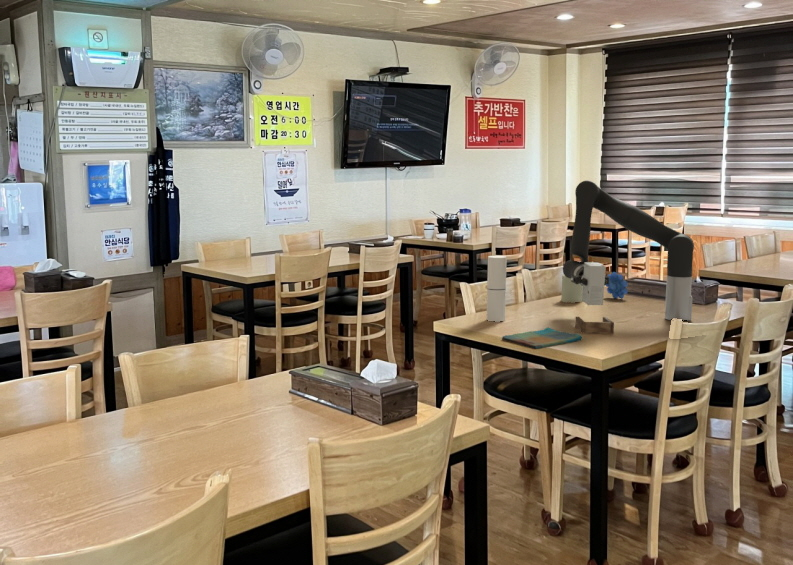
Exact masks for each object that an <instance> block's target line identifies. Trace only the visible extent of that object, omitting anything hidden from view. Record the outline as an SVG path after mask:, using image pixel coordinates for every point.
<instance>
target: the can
mask: <svg viewBox="0 0 793 565" xmlns="http://www.w3.org/2000/svg"><path fill="white" fill-rule="evenodd" d="M582 289H583V286H582V285H580V284H575V283H573V282H571V279H570V278H567V277H566V276H565V275H564V274H561V298H560V302H562V301H563V303H567V302H571V303H570V304H576V303H575V302H580V303H582Z"/></svg>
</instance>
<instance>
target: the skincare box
mask: <svg viewBox="0 0 793 565" xmlns="http://www.w3.org/2000/svg"><path fill="white" fill-rule="evenodd" d="M606 267H607V266H606V265H604V264H603V263H600V262H584V276H583V277H584V278H585V279H587V286H585V285H583V286H582V302H583V303H585V304H586V305H587V306H604V296H605V294H604V293H605V286H604V283H605V275H606ZM582 302H581V303H582Z"/></svg>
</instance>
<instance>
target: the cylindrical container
mask: <svg viewBox="0 0 793 565" xmlns="http://www.w3.org/2000/svg"><path fill="white" fill-rule="evenodd" d="M507 259H508V258H507V256H506V255H488V256H487V278H486V279H487V282H486V284H487V285H486V286H487V287H486V290H487V291H486V321H487V320H489V321H495V322H494V323H501V322H500V321H504V322H505V321H506V298H507V296H506V294H507V292H506V291H507ZM489 321H488V322H489Z"/></svg>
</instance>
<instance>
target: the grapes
mask: <svg viewBox="0 0 793 565" xmlns="http://www.w3.org/2000/svg"><path fill="white" fill-rule="evenodd" d="M606 275H607V276H608V277H609V284H607V285H605V286H606V287H607V288H606V291H607V294H610V295H612V298H614V299H618V298H619V299H620V300H623V298H625V295H627V294H628V288H627V287H628V285H629V284H628V281H626V280H624V276H623V275H622V274H620V273H619V274H618V273H617V272H615V271H612V272H611V274H610V273H609V274H606Z"/></svg>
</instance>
